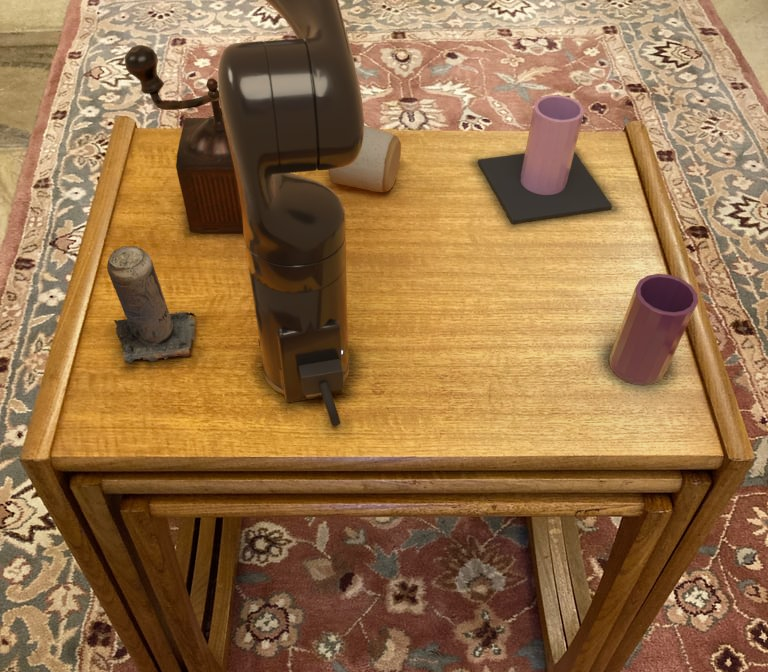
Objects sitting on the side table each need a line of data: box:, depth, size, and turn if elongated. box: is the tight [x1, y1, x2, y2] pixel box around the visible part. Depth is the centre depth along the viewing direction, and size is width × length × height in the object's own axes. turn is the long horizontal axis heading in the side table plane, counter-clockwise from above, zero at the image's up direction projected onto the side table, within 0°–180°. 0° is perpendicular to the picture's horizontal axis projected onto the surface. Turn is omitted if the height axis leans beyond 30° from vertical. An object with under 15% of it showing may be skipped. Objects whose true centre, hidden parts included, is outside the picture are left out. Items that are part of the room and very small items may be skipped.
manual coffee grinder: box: [124, 44, 244, 235], centre depth 91 cm, size 16×11×18 cm
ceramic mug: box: [328, 125, 402, 193], centre depth 100 cm, size 11×8×8 cm
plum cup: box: [608, 273, 699, 386], centre depth 81 cm, size 6×6×10 cm
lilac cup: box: [520, 94, 585, 195], centre depth 99 cm, size 6×6×10 cm
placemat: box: [477, 151, 613, 225], centre depth 103 cm, size 14×14×1 cm
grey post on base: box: [106, 245, 197, 365], centre depth 80 cm, size 9×8×12 cm
